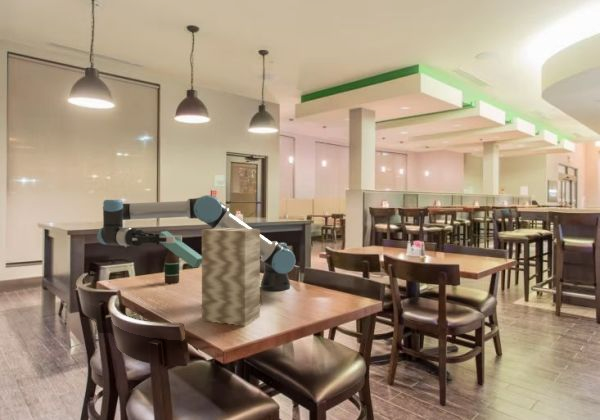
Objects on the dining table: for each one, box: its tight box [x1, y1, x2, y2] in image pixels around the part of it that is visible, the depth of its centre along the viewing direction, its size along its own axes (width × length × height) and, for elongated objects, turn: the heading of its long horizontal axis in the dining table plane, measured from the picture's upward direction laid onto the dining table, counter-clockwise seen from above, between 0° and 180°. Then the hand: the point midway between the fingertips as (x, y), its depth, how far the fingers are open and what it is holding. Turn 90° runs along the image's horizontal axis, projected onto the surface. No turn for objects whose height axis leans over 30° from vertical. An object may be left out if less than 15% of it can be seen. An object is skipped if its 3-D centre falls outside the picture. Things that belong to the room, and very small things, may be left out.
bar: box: [159, 230, 202, 269], centre depth 153 cm, size 20×4×4 cm
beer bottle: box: [164, 248, 180, 285], centre depth 209 cm, size 8×8×24 cm
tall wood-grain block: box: [201, 228, 261, 327], centre depth 146 cm, size 18×12×34 cm, turn 70°
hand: (177, 239), depth 154 cm, fingers closed on bar, 4 cm apart
